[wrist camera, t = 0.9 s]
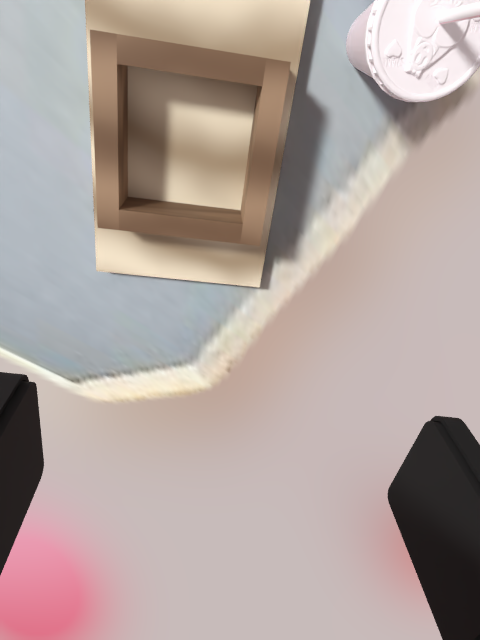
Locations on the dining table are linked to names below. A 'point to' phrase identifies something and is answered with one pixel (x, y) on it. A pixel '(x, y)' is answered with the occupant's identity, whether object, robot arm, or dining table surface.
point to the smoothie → (417, 46)
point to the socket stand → (189, 132)
